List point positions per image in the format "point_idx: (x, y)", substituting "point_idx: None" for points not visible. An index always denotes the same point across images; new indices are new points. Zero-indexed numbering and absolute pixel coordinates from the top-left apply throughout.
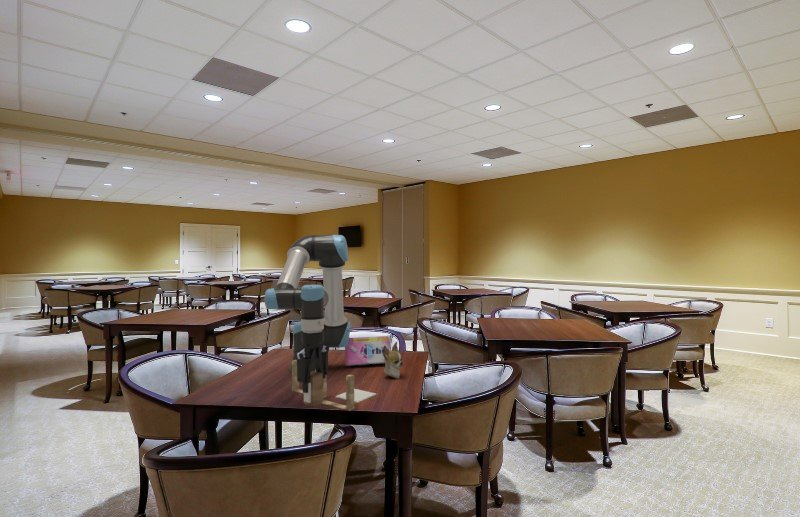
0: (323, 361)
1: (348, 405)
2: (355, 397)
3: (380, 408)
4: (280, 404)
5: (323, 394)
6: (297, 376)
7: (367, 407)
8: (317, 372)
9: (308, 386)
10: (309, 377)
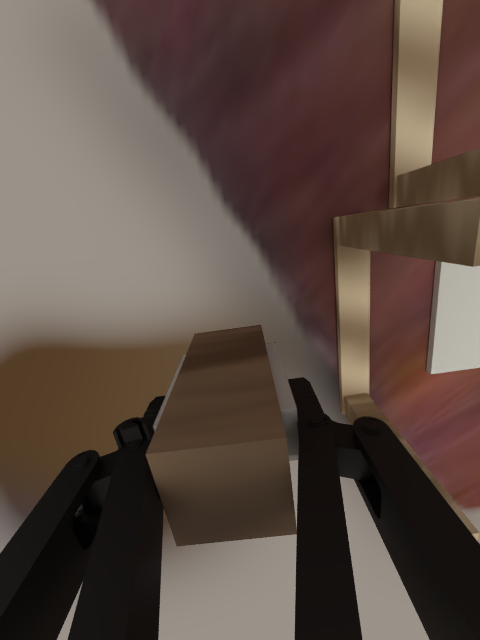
0: (431, 608)
1: (350, 415)
2: (474, 328)
3: (424, 454)
4: (193, 92)
5: (409, 205)
6: (42, 502)
7: (409, 421)
8: (277, 498)
9: None
10: (160, 514)
